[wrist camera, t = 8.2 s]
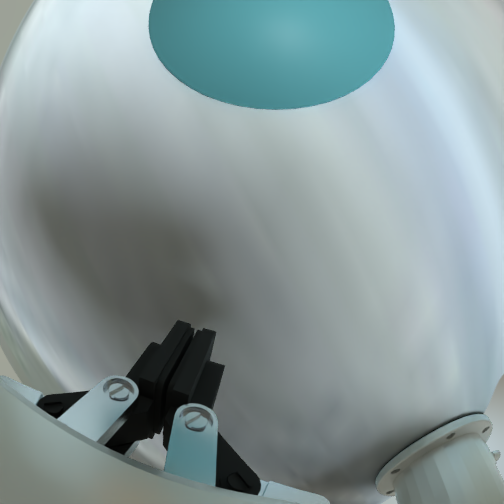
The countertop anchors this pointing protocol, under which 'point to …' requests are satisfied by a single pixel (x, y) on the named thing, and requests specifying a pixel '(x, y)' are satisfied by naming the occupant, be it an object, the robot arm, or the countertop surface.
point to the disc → (272, 48)
